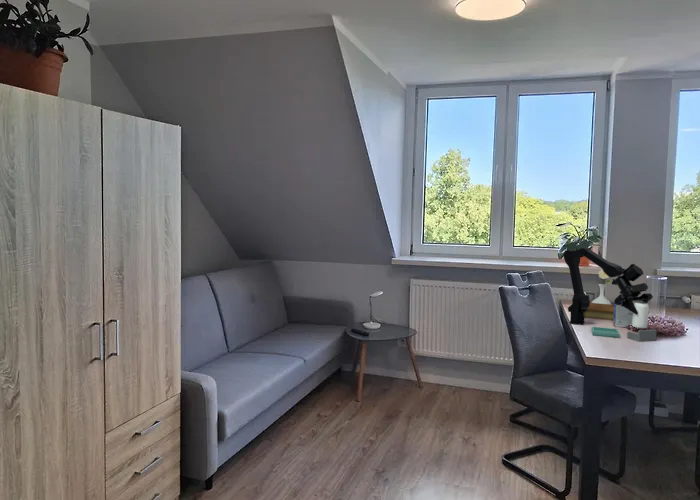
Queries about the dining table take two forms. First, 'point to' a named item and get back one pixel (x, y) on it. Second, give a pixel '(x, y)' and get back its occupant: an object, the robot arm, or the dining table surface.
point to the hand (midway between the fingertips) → (642, 313)
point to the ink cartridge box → (622, 316)
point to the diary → (600, 311)
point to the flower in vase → (602, 289)
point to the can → (640, 314)
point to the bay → (643, 335)
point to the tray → (605, 332)
